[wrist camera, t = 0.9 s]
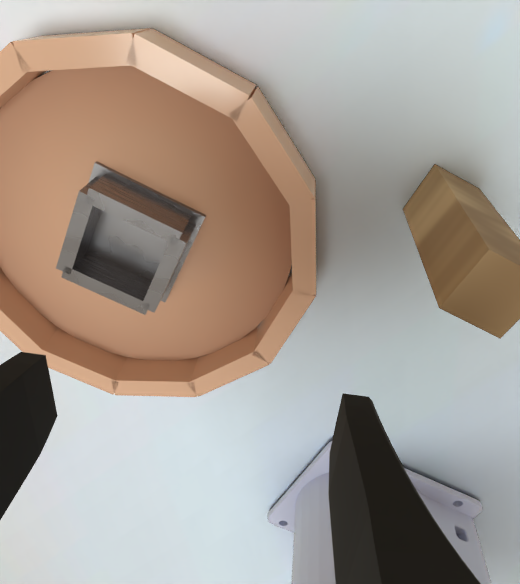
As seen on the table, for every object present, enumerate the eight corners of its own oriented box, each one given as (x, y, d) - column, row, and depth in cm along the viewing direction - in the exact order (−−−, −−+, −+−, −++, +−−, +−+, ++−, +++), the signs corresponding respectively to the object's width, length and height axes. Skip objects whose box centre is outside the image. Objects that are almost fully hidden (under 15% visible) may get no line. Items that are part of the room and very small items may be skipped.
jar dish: (390, 157, 18) (397, 175, 17) (226, 409, 26) (219, 439, 24) (-5, -58, 16) (-43, -63, 14) (-58, 287, 24) (-87, 310, 22)
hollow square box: (206, 215, 20) (196, 234, 18) (166, 300, 22) (154, 323, 21) (96, 161, 19) (77, 176, 18) (67, 255, 21) (48, 275, 20)
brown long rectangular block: (479, 188, 19) (553, 283, 13) (445, 231, 20) (500, 338, 14) (434, 163, 18) (489, 249, 12) (402, 209, 19) (439, 307, 13)
